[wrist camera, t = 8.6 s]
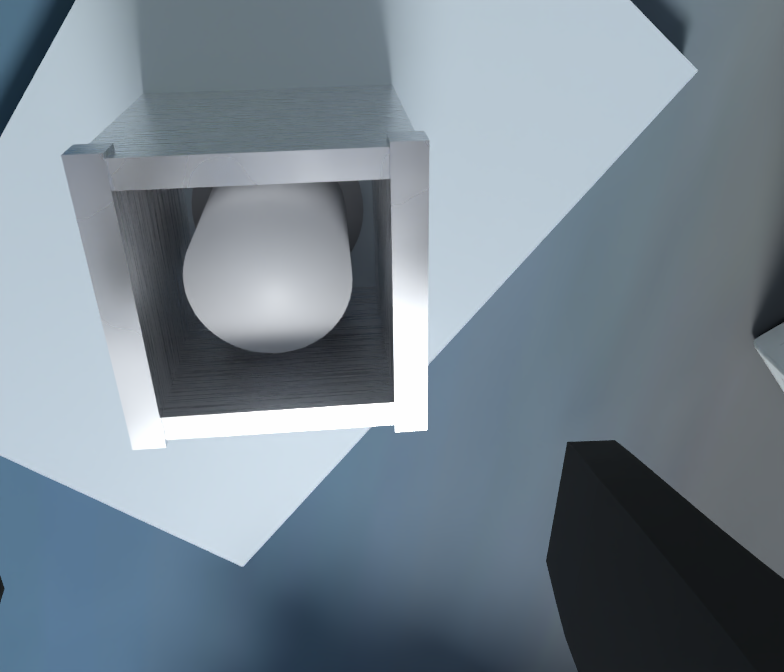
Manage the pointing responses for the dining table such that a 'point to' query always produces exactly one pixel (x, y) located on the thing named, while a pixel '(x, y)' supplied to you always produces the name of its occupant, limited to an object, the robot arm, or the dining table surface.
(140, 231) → the white boxy piece
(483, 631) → the dining table surface
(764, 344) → the supplement box
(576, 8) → the duct plate
